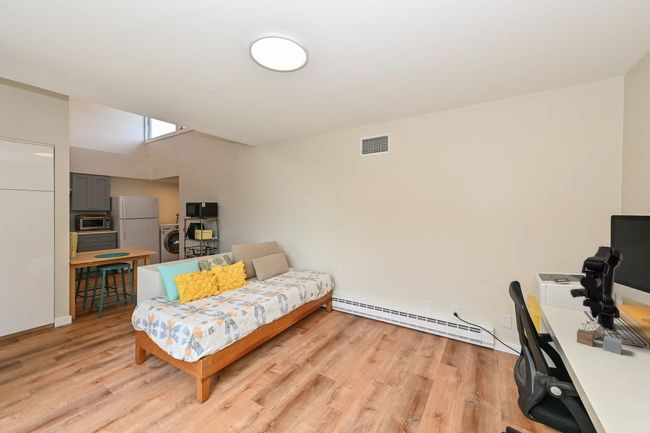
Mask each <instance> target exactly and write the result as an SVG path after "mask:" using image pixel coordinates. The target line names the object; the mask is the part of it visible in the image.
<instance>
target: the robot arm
mask: <svg viewBox="0 0 650 433" xmlns="http://www.w3.org/2000/svg"><path fill="white" fill-rule="evenodd" d="M623 256H624V255H623V254H622V252H621V251H619V250H617V249H615V247H612V246H603V245H602V246H601V245H600V246H598V248H597V251H596V252H595V254H594V256H589V257H587V258H586V259H585V260H584V261H583V264H582V268H581V274H585V276H583V277H581V279H580V280H579V283H580V285H581V287H582V288H581V287H580V288H572V289H570V290H569V292H570V295H571V297H572V298H573V299H574V298H575V299H576V298H581V297H584V299H583V301H582V306H583V307H587V308H589V310H590V313H591V316H592V318H593V319H596V318H597V322H596V323H598V324H600V325H601V324H603V325H602V327H603V328H606V329H605V330H610V331H611V330H612V331H615V329H616V325H615V324H614V323H615V319H616V320H617V319H620V318H621V313H620V309H619V307H618V306H617V302H616V300H615V299H614V298H613V295H614V294H613V292H614V285H615V283H614V282H615V274H616V273H615V272H616V269H617V268H618V267H620V265H621V262H623Z"/></svg>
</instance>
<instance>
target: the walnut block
mask: <svg viewBox="0 0 650 433" xmlns="http://www.w3.org/2000/svg"><path fill="white" fill-rule="evenodd" d="M594 341H595V340H594V332H590V331H586V330H584V329H582V328H578V329H577V331H576V343H578V344H582V345H585V346H588V347H590V348H591V347H593V345H594V343H595V342H594Z"/></svg>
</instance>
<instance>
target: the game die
mask: <svg viewBox="0 0 650 433" xmlns="http://www.w3.org/2000/svg"><path fill="white" fill-rule="evenodd" d="M594 319H595V318H593V319H592V320H591V321H587V320H586V323H583V322H582V323H581V325H583V330H586V331H590V332H594V341H596V339H597V338H600V339H602V337H605V335H606V336H608V335H607V334H606V332H605V331H606V330H607V329H606V328H603V327H602V325H603V324H601V325H600V324H598V323H597V322H596V321H595V320H594Z"/></svg>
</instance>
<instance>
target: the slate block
mask: <svg viewBox="0 0 650 433" xmlns="http://www.w3.org/2000/svg"><path fill="white" fill-rule="evenodd" d="M606 335H607V334H605V336H603V351H605V352H609V353H613V354H616V355H620V356H621V355H622V349H623V348H622V347H623V344H622V343H623V340H622V339H621V338H617V337H613V336H609V335H607V336H606Z"/></svg>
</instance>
